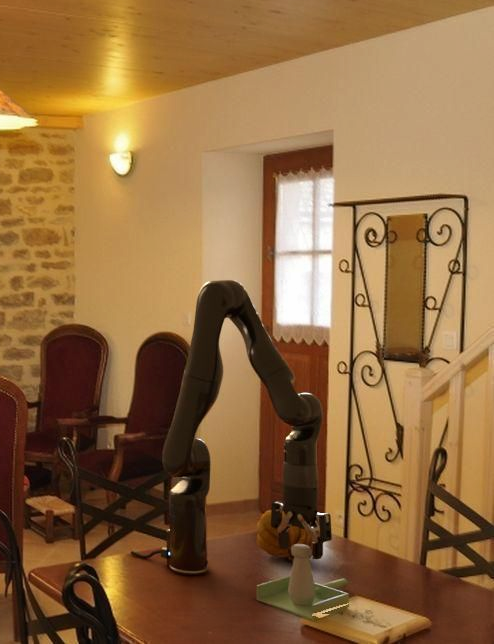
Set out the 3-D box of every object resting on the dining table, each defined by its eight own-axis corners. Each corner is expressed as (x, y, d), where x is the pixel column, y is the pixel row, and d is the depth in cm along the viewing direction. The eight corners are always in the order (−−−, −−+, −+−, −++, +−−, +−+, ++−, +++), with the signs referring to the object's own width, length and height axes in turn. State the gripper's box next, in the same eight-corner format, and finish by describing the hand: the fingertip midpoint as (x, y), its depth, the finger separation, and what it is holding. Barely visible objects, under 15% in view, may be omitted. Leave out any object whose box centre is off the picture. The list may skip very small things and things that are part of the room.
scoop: (313, 620, 192) (313, 605, 192) (256, 600, 205) (256, 585, 205) (375, 599, 204) (375, 584, 204) (318, 581, 217) (317, 567, 217)
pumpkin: (255, 572, 229) (249, 529, 248) (321, 584, 226) (309, 538, 245) (264, 526, 225) (256, 485, 244) (331, 537, 222) (318, 495, 240)
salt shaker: (317, 608, 198) (317, 549, 198) (290, 606, 199) (290, 548, 199) (312, 598, 204) (311, 542, 204) (286, 597, 205) (285, 541, 205)
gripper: (263, 478, 206) (263, 548, 206) (317, 491, 194) (317, 565, 194) (284, 474, 210) (284, 542, 210) (338, 486, 198) (339, 559, 198)
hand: (300, 553), depth 202 cm, fingers open, 8 cm apart
